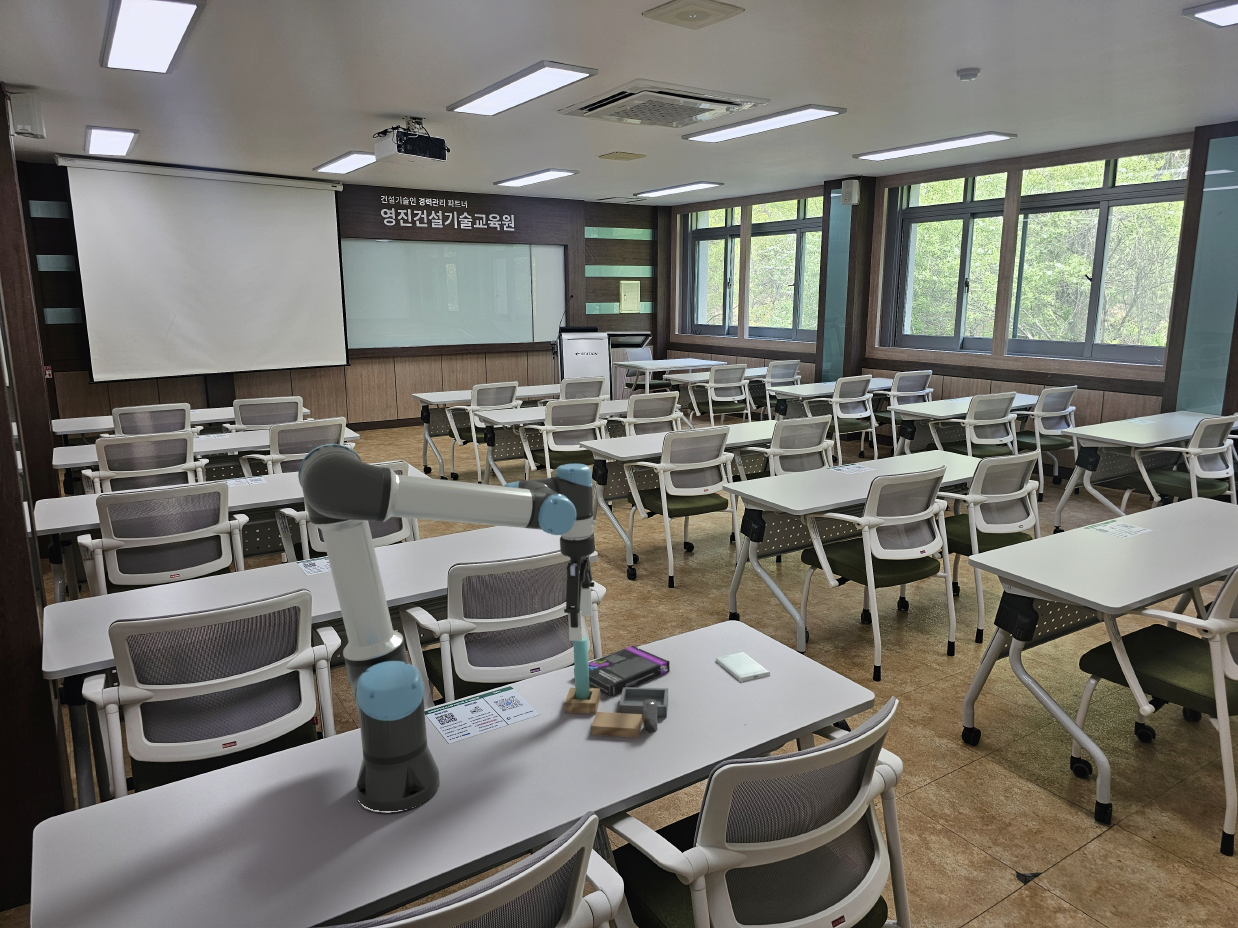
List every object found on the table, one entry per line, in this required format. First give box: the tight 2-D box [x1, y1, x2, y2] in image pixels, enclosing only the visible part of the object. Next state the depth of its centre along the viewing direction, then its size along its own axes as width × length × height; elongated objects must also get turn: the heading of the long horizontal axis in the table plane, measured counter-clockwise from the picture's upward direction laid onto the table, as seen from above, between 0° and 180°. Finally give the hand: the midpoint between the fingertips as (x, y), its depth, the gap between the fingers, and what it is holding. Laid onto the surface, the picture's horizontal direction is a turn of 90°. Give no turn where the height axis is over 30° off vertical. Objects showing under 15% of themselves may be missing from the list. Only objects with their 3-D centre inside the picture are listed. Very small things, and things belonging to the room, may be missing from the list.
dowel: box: [572, 636, 590, 700], centre depth 177 cm, size 3×3×16 cm
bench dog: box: [642, 699, 658, 733], centre depth 167 cm, size 3×3×6 cm
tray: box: [618, 687, 669, 718], centre depth 177 cm, size 10×8×3 cm
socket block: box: [564, 687, 601, 715], centre depth 178 cm, size 7×7×2 cm
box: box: [573, 645, 670, 698], centre depth 193 cm, size 14×4×20 cm
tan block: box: [591, 711, 643, 739], centre depth 168 cm, size 10×6×2 cm, turn 81°
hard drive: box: [715, 651, 771, 683], centre depth 195 cm, size 2×8×12 cm
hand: (581, 627), depth 174 cm, fingers open, 13 cm apart
